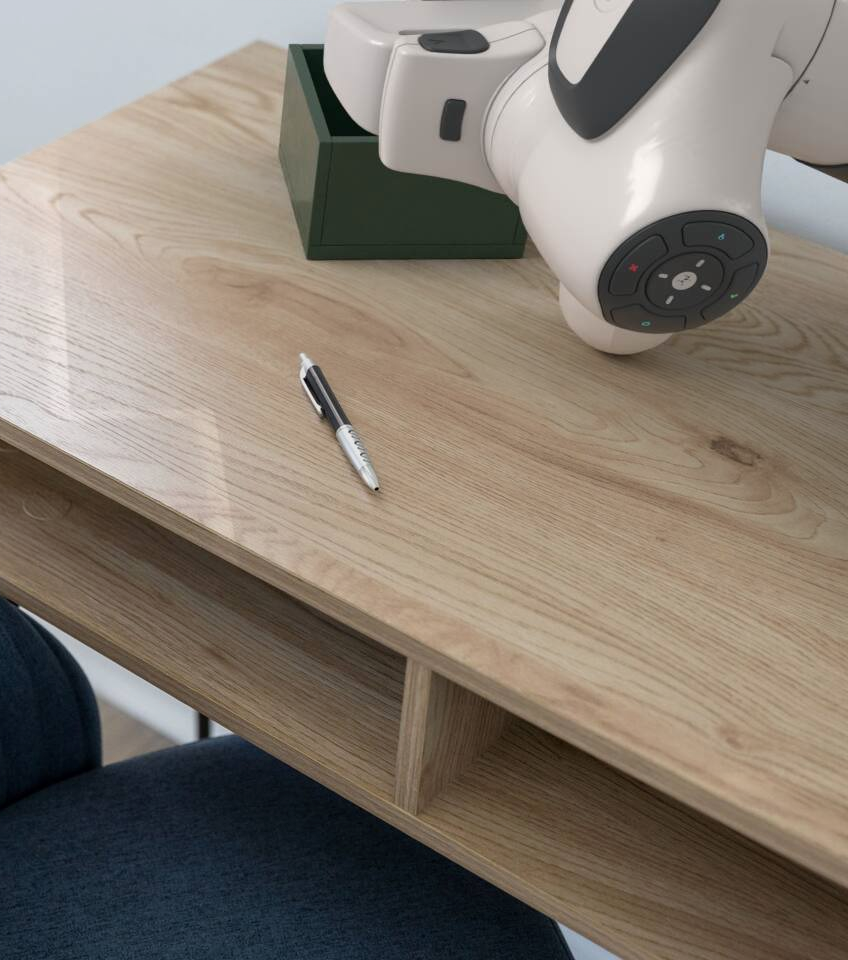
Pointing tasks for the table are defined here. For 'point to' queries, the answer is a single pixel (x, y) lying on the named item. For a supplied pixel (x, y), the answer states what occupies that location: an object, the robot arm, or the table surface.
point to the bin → (376, 186)
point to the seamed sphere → (604, 329)
